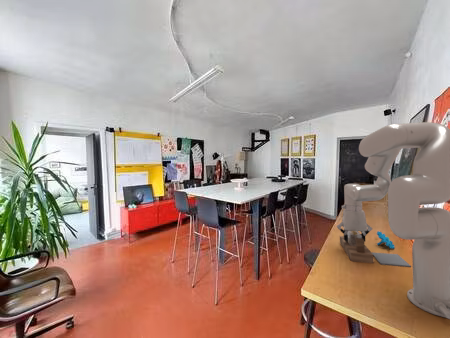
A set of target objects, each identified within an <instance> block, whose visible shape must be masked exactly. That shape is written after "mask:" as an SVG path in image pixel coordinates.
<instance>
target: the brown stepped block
mask: <svg viewBox="0 0 450 338" xmlns="http://www.w3.org/2000/svg"><path fill="white" fill-rule="evenodd" d="M339 243H340V245H341V247H342V248H343V250H344V252H345V254H346V256H348V258H349V259H348V260H349V261H351V262H354V263H355V262H356V263H365V264H366V263H367V264H374V262H375V260H374V259H375V257H374V256H373V254H372V253H371V250H370V249H369V248H368V247H367V245H365V244H364V243H365V242H364V239H363V238H355V244H356V247H355V246H350V244H349V243H346V241H345V240H344V235H339Z"/></svg>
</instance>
